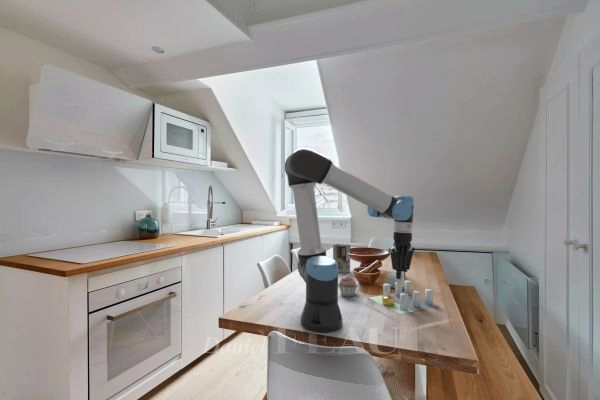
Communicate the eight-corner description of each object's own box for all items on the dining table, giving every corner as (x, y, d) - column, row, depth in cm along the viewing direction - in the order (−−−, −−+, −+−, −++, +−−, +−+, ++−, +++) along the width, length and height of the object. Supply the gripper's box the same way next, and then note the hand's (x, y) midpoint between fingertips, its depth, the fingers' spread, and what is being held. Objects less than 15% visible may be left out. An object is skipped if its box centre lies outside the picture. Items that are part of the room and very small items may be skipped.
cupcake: (342, 290, 146) (342, 270, 146) (360, 294, 141) (360, 273, 141) (334, 296, 138) (334, 274, 138) (353, 300, 133) (353, 277, 133)
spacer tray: (400, 316, 116) (400, 298, 115) (368, 299, 134) (368, 284, 134) (440, 308, 125) (441, 291, 125) (405, 293, 143) (405, 279, 143)
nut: (387, 307, 123) (387, 299, 122) (379, 303, 127) (379, 295, 127) (397, 305, 124) (397, 298, 124) (389, 301, 129) (389, 294, 129)
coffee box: (350, 271, 183) (350, 245, 183) (346, 273, 178) (346, 246, 178) (336, 269, 188) (337, 243, 188) (332, 271, 183) (332, 245, 182)
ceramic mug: (399, 292, 144) (399, 277, 144) (385, 288, 150) (385, 273, 150) (412, 289, 150) (412, 274, 150) (398, 285, 157) (398, 270, 157)
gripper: (397, 233, 122) (394, 290, 122) (420, 232, 127) (418, 287, 128) (385, 230, 129) (382, 285, 129) (407, 230, 134) (405, 282, 135)
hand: (400, 286), depth 129 cm, fingers closed
